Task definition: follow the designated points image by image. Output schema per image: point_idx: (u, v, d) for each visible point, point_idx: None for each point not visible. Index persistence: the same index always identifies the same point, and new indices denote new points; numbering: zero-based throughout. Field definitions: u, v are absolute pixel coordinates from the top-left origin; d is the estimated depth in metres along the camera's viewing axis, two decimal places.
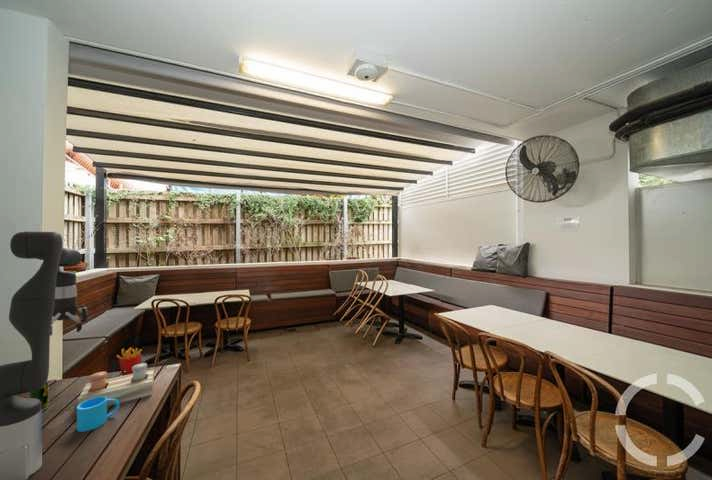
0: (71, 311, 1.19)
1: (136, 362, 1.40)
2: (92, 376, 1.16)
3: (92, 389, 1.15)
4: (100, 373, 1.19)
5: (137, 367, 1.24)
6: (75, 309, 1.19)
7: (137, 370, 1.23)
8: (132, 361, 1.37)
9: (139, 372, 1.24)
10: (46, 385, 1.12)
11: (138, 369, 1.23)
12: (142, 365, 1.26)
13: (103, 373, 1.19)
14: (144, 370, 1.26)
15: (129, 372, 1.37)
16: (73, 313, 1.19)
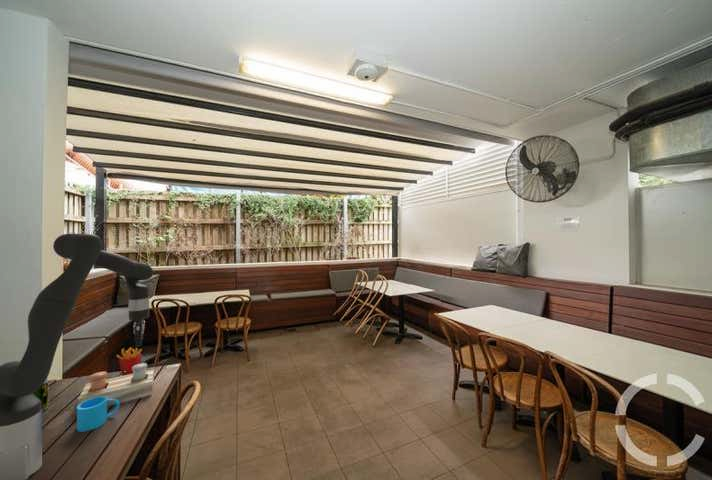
0: None
1: (136, 362, 1.40)
2: (92, 376, 1.16)
3: (92, 389, 1.15)
4: (100, 373, 1.19)
5: (137, 367, 1.24)
6: None
7: (137, 370, 1.23)
8: (132, 361, 1.37)
9: (139, 372, 1.24)
10: (46, 385, 1.12)
11: (138, 369, 1.23)
12: (142, 365, 1.26)
13: (103, 373, 1.19)
14: (144, 370, 1.26)
15: (129, 372, 1.37)
16: None
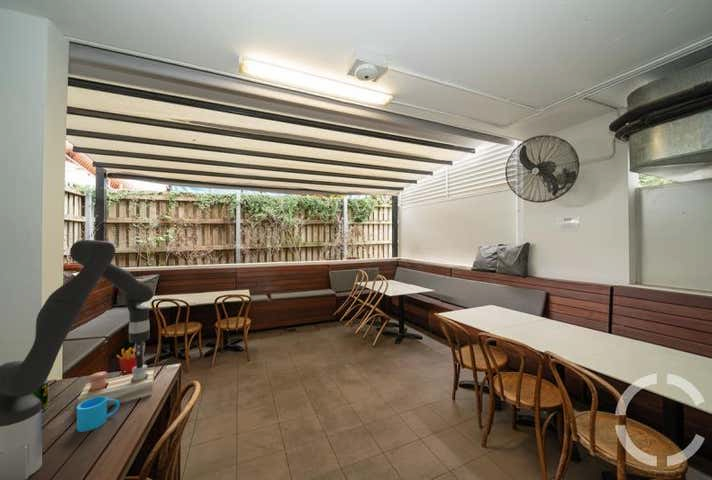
0: None
1: (136, 362, 1.40)
2: (92, 376, 1.16)
3: (92, 389, 1.15)
4: (100, 373, 1.19)
5: (137, 368, 1.24)
6: None
7: (137, 371, 1.23)
8: (132, 361, 1.37)
9: (139, 373, 1.24)
10: (46, 385, 1.12)
11: (138, 370, 1.23)
12: (142, 367, 1.26)
13: (103, 373, 1.19)
14: (144, 371, 1.26)
15: (129, 372, 1.37)
16: None
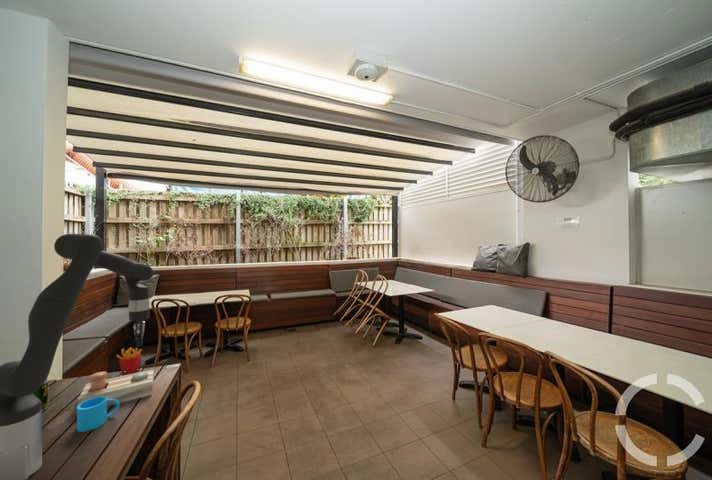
0: None
1: (136, 362, 1.40)
2: (92, 376, 1.16)
3: (92, 389, 1.15)
4: (100, 373, 1.19)
5: (137, 376, 1.24)
6: None
7: (137, 379, 1.23)
8: (132, 361, 1.37)
9: None
10: (46, 385, 1.12)
11: (138, 378, 1.23)
12: (142, 374, 1.26)
13: (103, 373, 1.19)
14: None
15: (129, 372, 1.37)
16: None
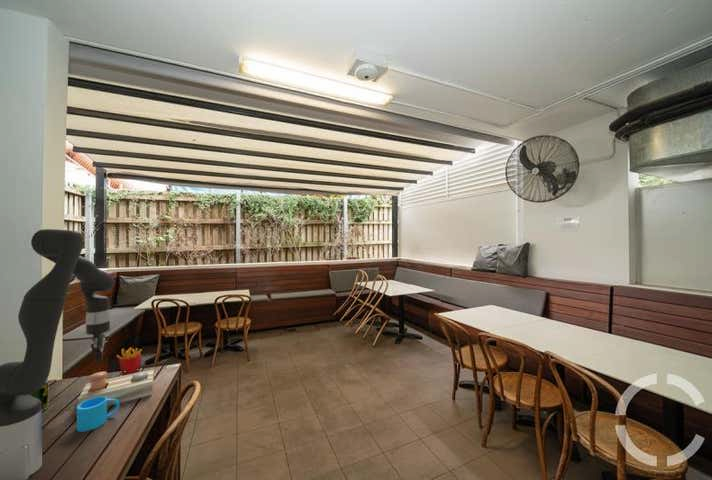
0: None
1: (136, 362, 1.40)
2: (92, 376, 1.16)
3: (92, 389, 1.15)
4: (100, 373, 1.19)
5: (137, 376, 1.24)
6: None
7: (137, 379, 1.23)
8: (132, 361, 1.37)
9: None
10: (46, 385, 1.12)
11: (138, 378, 1.23)
12: (142, 374, 1.26)
13: (103, 373, 1.19)
14: None
15: (129, 372, 1.37)
16: None
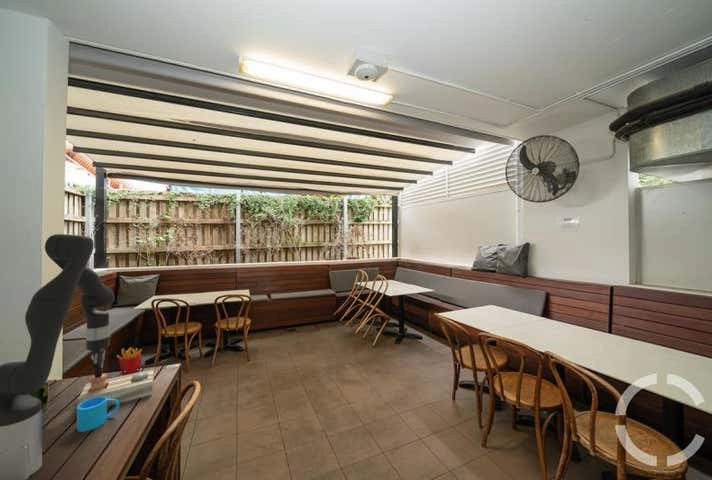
0: None
1: (136, 362, 1.40)
2: (92, 378, 1.16)
3: (92, 391, 1.15)
4: None
5: (137, 376, 1.24)
6: None
7: (137, 379, 1.23)
8: (132, 361, 1.37)
9: None
10: (46, 385, 1.12)
11: (138, 378, 1.23)
12: (142, 374, 1.26)
13: (103, 375, 1.19)
14: None
15: (129, 372, 1.37)
16: None
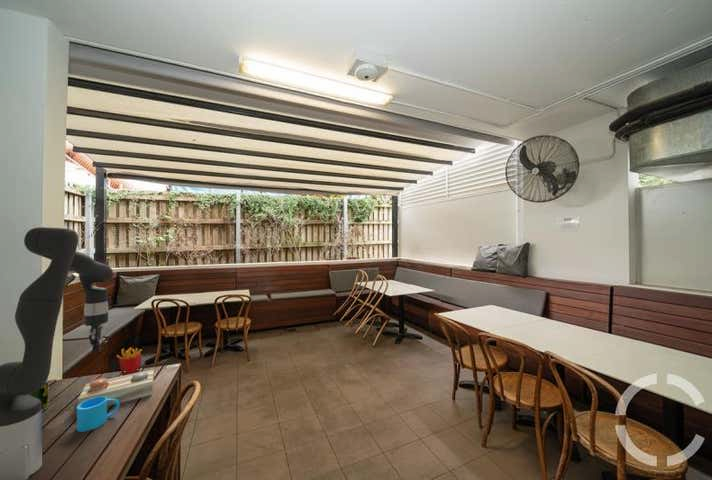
0: None
1: (136, 362, 1.40)
2: (92, 383, 1.16)
3: None
4: (100, 380, 1.19)
5: (137, 376, 1.24)
6: None
7: (137, 379, 1.23)
8: (132, 361, 1.37)
9: None
10: (46, 385, 1.12)
11: (138, 378, 1.23)
12: (142, 374, 1.26)
13: (103, 380, 1.19)
14: None
15: (129, 372, 1.37)
16: None
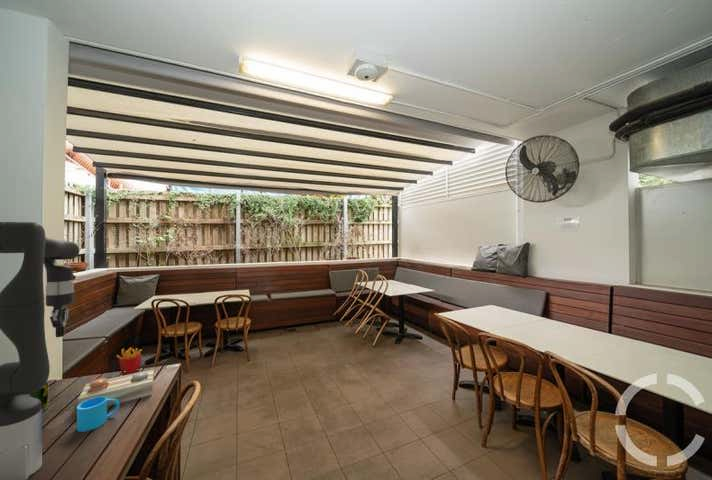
0: None
1: (136, 362, 1.40)
2: (92, 383, 1.16)
3: None
4: (100, 380, 1.19)
5: (137, 376, 1.24)
6: None
7: (137, 379, 1.23)
8: (132, 361, 1.37)
9: None
10: (46, 385, 1.12)
11: (138, 378, 1.23)
12: (142, 374, 1.26)
13: (103, 380, 1.19)
14: None
15: (129, 372, 1.37)
16: None
